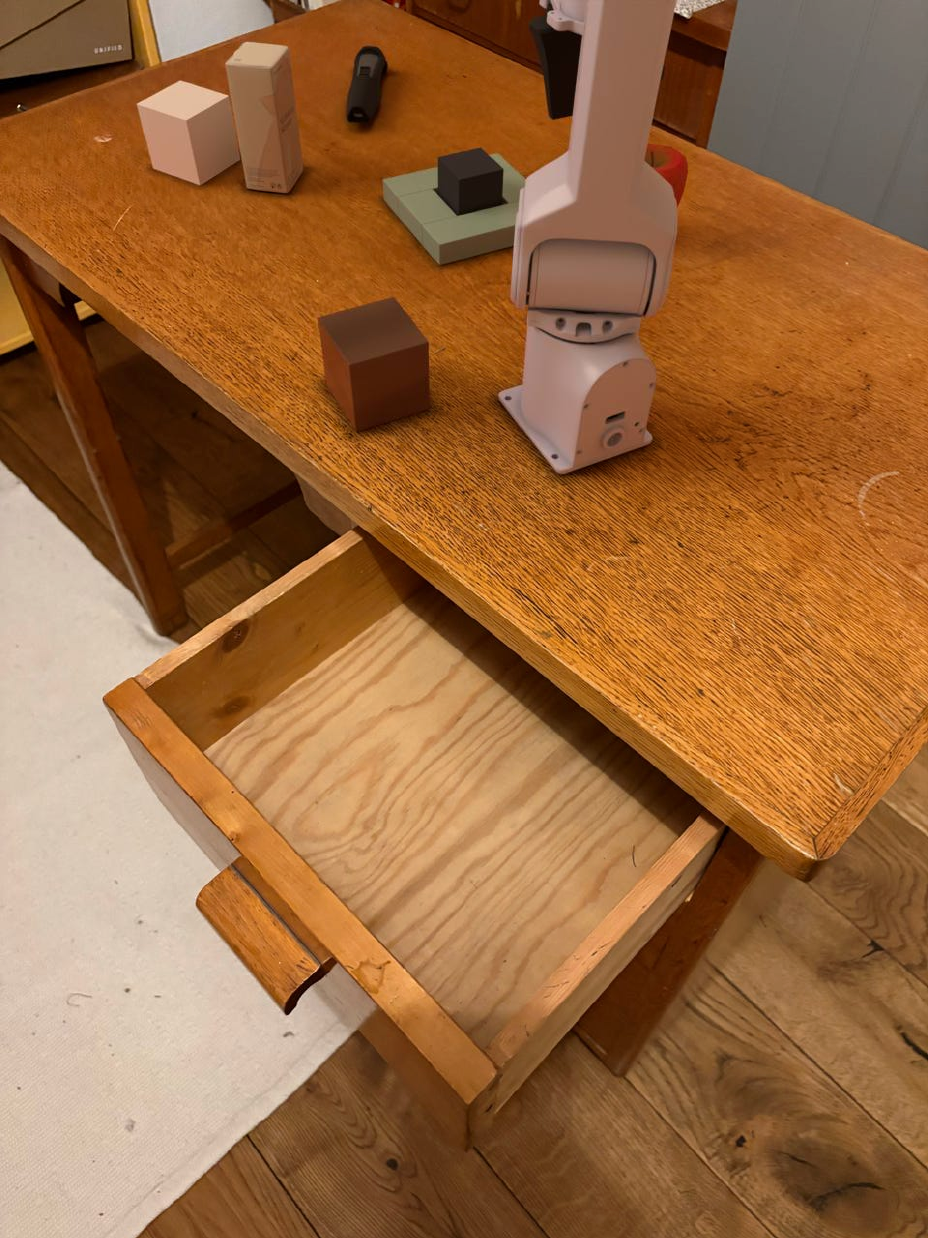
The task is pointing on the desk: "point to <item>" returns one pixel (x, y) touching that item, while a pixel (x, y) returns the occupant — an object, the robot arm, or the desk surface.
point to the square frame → (454, 215)
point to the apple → (669, 166)
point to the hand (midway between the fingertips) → (583, 136)
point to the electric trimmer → (365, 84)
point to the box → (265, 116)
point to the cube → (375, 363)
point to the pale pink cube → (189, 132)
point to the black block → (470, 181)
